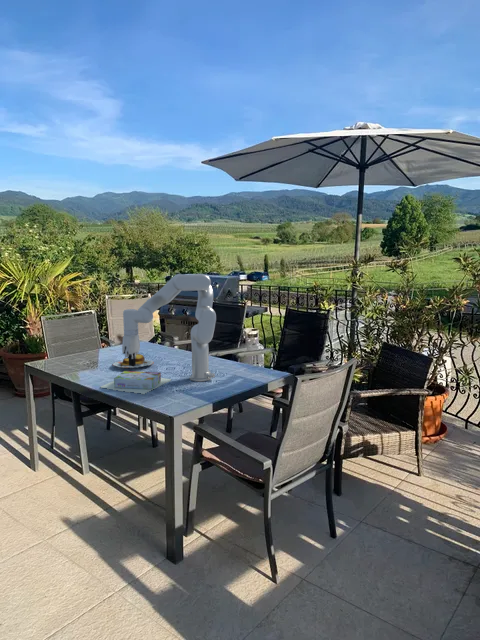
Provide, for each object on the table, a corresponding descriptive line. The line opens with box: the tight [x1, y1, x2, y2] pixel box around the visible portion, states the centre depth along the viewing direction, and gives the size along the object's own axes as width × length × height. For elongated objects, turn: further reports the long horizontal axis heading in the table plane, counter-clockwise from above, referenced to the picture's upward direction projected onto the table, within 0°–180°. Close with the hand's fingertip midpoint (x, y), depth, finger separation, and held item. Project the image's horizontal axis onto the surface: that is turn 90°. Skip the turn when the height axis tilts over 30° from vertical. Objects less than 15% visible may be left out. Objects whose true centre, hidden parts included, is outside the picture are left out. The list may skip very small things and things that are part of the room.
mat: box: [100, 377, 172, 395], centre depth 234 cm, size 28×27×1 cm
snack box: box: [113, 370, 162, 389], centre depth 231 cm, size 21×6×15 cm
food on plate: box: [111, 353, 155, 369], centre depth 271 cm, size 25×25×7 cm
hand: (132, 365), depth 230 cm, fingers closed
